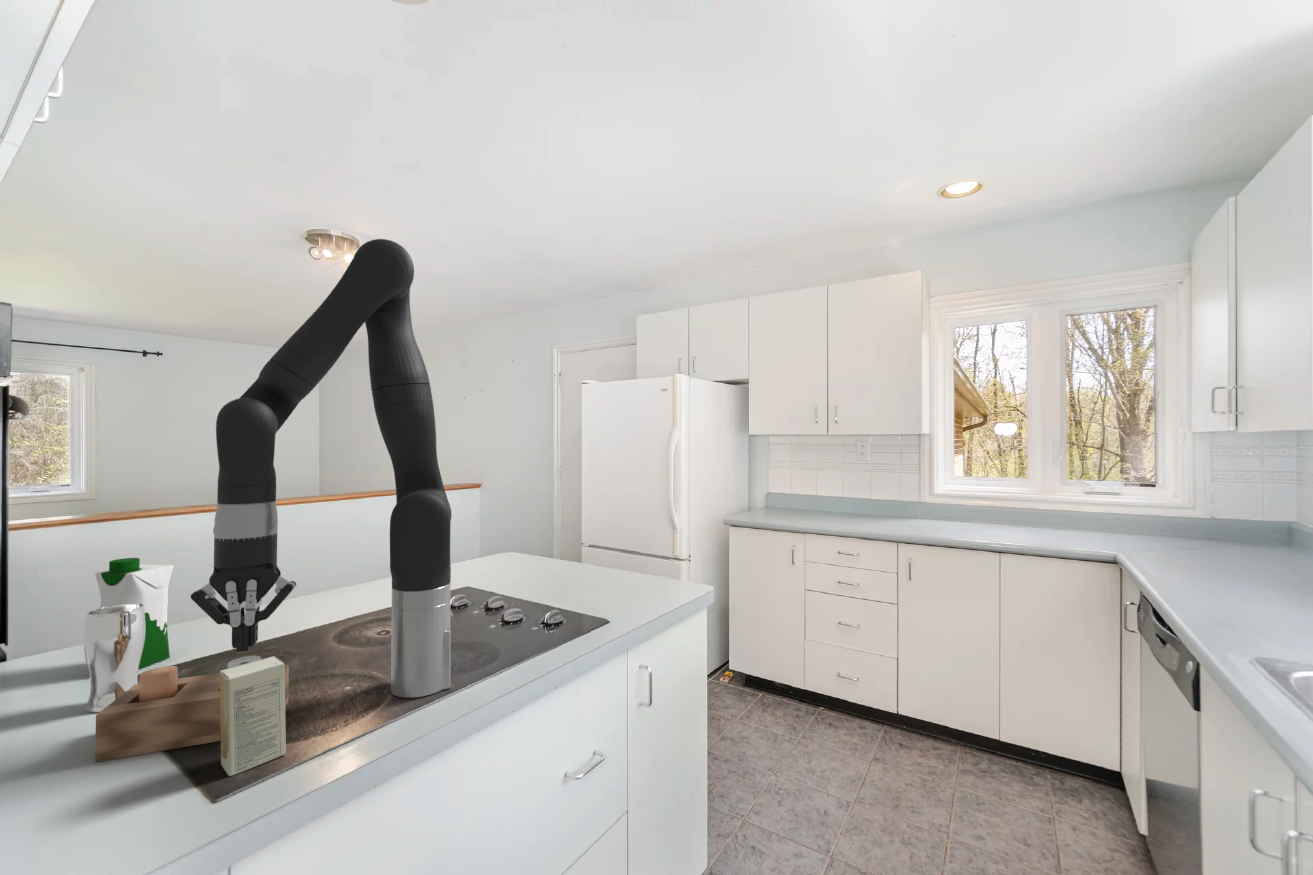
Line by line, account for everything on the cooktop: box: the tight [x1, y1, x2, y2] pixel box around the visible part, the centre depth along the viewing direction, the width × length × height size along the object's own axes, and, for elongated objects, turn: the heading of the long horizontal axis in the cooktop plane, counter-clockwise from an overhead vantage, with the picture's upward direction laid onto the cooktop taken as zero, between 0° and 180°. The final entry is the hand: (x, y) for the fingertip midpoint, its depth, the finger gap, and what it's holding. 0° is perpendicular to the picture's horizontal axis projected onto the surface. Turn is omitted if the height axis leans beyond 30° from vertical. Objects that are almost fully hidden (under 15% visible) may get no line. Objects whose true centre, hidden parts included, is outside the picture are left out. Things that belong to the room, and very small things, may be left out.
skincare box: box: [219, 655, 287, 777], centre depth 70 cm, size 6×4×12 cm
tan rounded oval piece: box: [138, 665, 179, 702], centre depth 76 cm, size 4×4×5 cm
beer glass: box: [83, 603, 146, 714], centre depth 86 cm, size 7×7×15 cm
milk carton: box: [95, 557, 175, 671], centre depth 102 cm, size 9×9×20 cm
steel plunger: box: [227, 655, 262, 669], centre depth 80 cm, size 4×4×5 cm
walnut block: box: [94, 664, 290, 763], centre depth 78 cm, size 19×10×6 cm, turn 112°
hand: (244, 649), depth 80 cm, fingers closed
